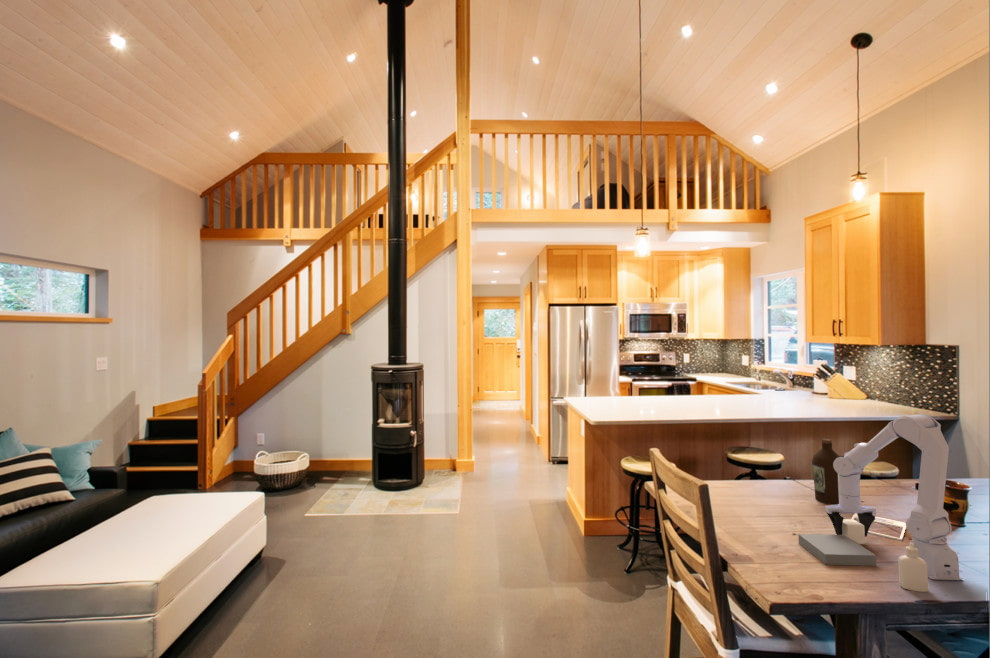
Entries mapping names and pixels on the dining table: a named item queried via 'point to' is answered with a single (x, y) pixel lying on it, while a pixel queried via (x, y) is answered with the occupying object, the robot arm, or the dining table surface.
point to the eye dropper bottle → (913, 570)
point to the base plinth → (837, 549)
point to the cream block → (853, 530)
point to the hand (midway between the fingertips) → (851, 535)
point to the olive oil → (825, 474)
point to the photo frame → (887, 522)
